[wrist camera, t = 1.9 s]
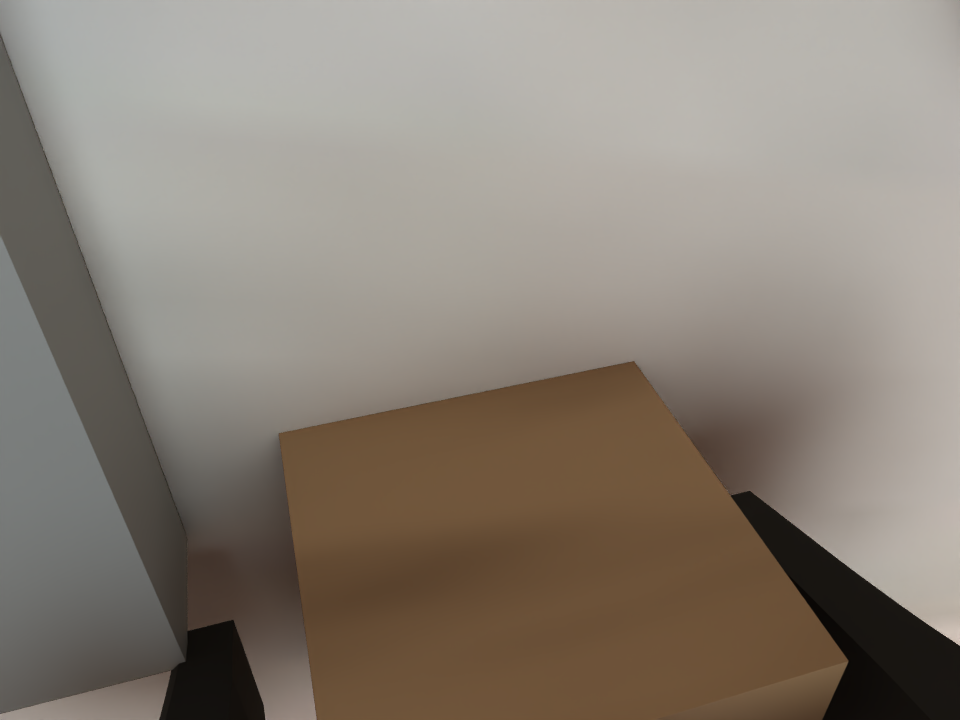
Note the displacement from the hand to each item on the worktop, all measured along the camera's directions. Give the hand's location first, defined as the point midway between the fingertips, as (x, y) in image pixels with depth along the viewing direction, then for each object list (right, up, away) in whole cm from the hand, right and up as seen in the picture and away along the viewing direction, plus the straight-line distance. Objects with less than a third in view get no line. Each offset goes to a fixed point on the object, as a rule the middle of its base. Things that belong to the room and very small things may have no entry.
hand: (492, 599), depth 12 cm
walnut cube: (0, +1, +1) cm, 2 cm away
